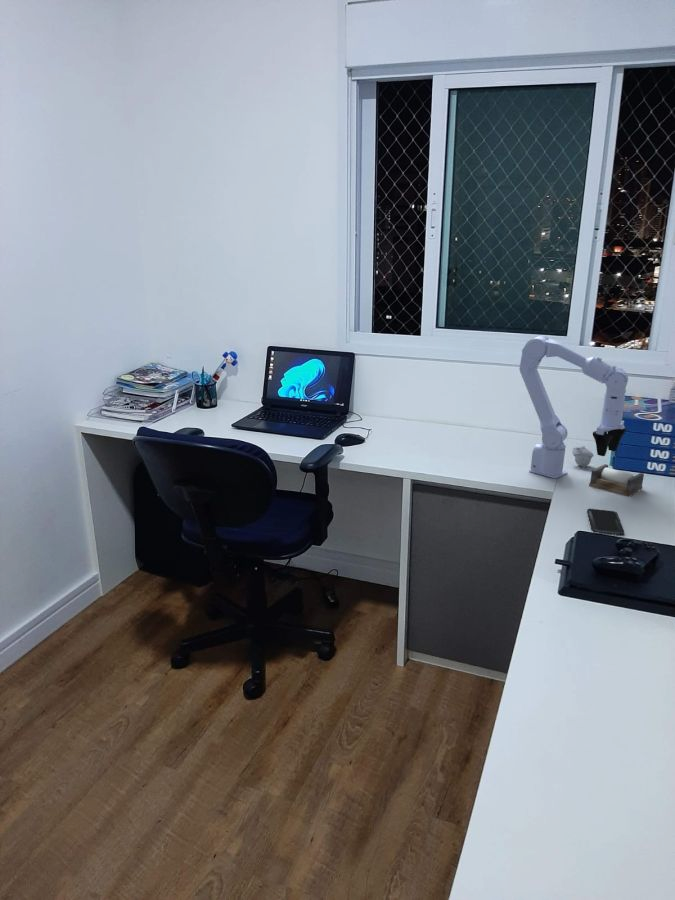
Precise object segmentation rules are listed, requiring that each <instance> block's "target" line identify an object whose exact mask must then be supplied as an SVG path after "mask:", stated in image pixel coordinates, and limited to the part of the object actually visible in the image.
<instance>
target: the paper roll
mask: <svg viewBox="0 0 675 900" xmlns="http://www.w3.org/2000/svg"><path fill="white" fill-rule="evenodd" d="M634 476H635V475H634V474H633V473H630V472H625V471H621V470H618V469H614V468H611V467H608V468H607V467H606V468H604V470H603V471H602V474H601V479H604V480H608V481H612V482H615V483H619V484H623V485H627V483H628V479H630V478H632V477H634Z"/></svg>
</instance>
